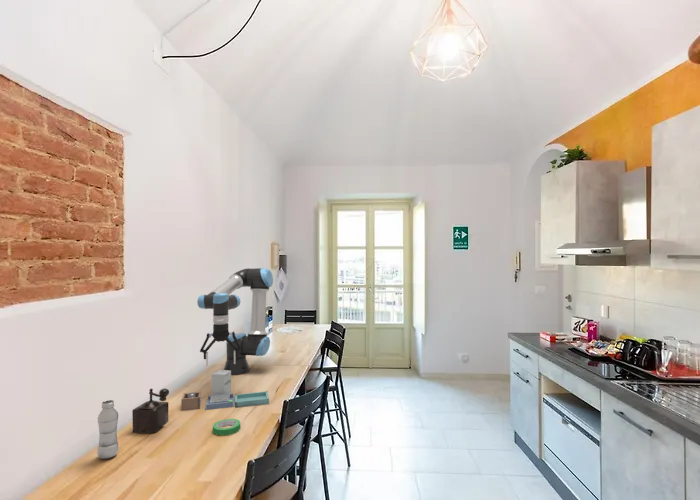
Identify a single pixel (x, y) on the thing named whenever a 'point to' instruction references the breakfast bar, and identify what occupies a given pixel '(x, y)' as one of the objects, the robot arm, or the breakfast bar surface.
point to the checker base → (219, 405)
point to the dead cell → (191, 395)
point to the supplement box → (221, 382)
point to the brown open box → (191, 402)
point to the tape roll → (228, 430)
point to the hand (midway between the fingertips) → (220, 364)
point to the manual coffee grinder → (151, 414)
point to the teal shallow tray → (251, 399)
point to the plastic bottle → (107, 431)
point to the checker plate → (220, 398)
